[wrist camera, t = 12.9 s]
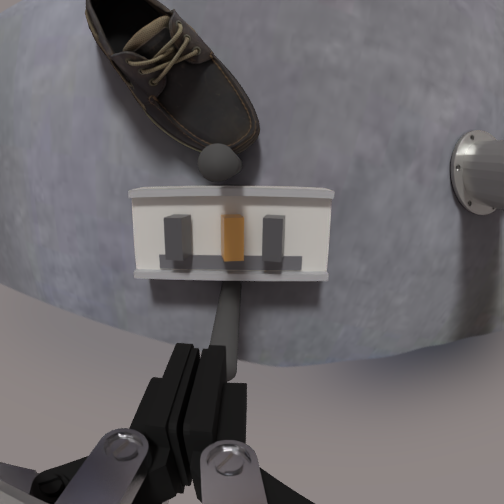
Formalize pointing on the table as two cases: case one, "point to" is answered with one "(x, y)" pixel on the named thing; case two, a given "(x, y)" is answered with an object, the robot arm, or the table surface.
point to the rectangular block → (232, 237)
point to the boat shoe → (173, 74)
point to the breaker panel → (253, 210)
